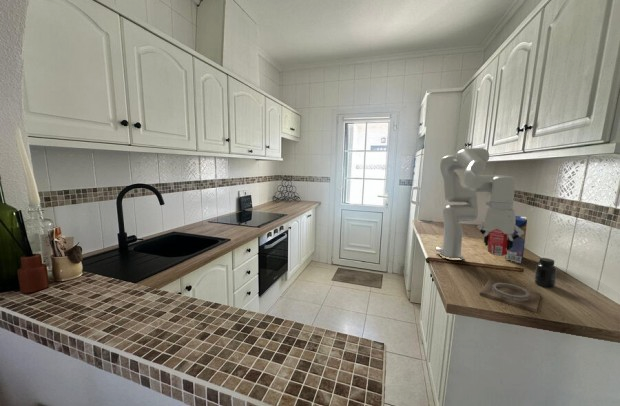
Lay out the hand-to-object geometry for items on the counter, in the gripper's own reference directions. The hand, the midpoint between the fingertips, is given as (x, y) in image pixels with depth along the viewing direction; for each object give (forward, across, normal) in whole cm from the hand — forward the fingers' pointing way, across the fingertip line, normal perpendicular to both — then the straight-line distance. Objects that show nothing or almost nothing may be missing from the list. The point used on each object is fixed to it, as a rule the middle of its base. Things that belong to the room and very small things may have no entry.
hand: (497, 246), depth 106 cm
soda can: (+3, 0, 0) cm, 3 cm away
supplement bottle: (+20, +14, +22) cm, 33 cm away
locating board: (+20, +6, 0) cm, 21 cm away
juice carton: (+20, -2, +51) cm, 55 cm away
